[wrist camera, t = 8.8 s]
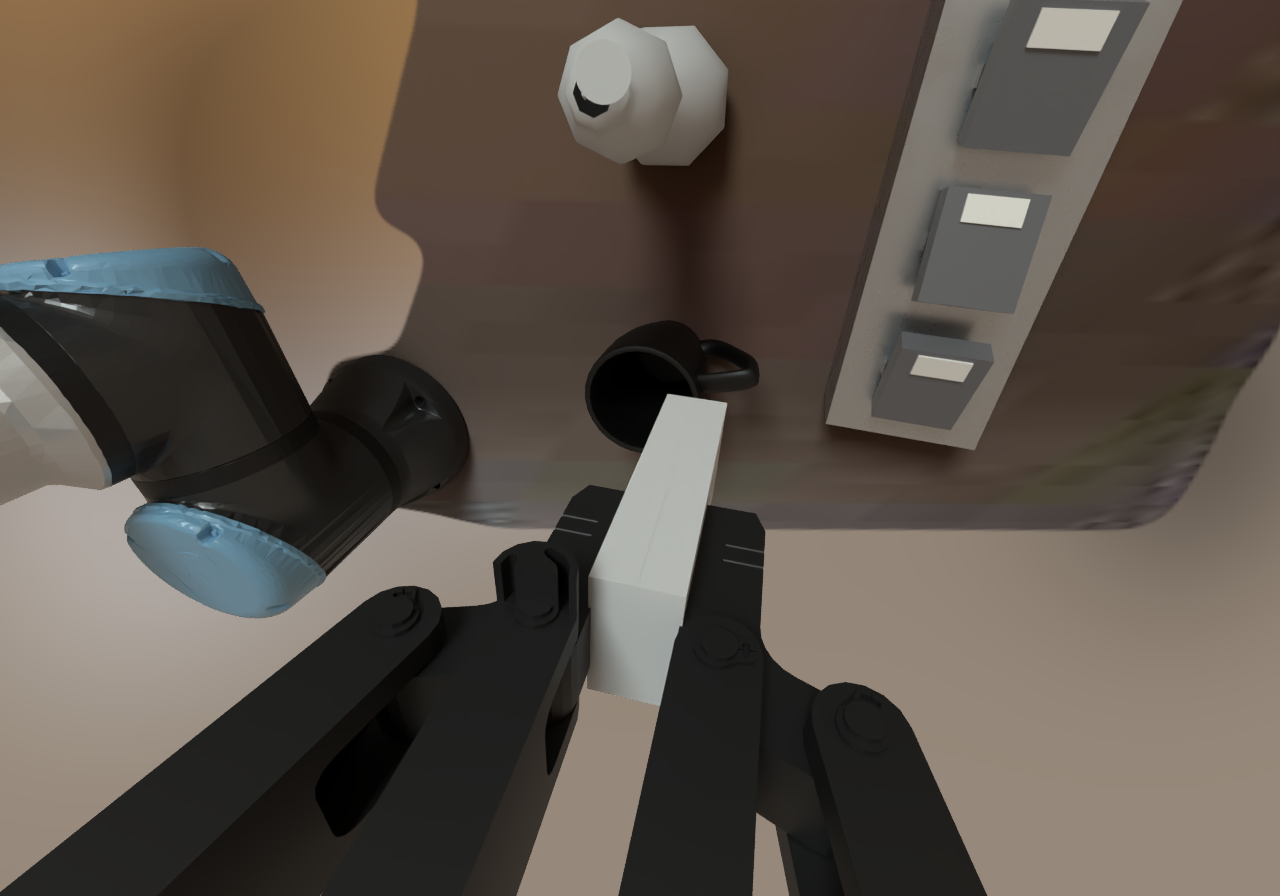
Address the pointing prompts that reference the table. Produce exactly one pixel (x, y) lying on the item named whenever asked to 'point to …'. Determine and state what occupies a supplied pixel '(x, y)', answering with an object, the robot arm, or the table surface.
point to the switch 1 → (980, 248)
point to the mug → (657, 378)
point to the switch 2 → (930, 379)
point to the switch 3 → (1048, 73)
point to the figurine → (644, 93)
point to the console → (936, 160)
